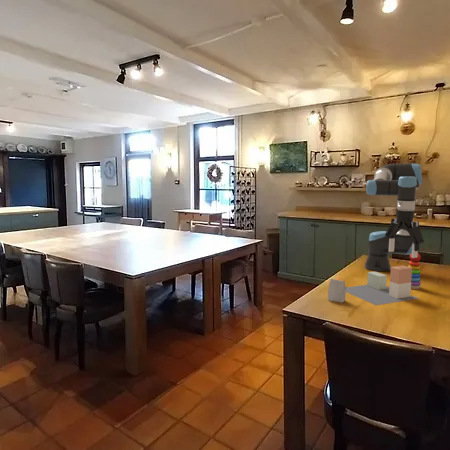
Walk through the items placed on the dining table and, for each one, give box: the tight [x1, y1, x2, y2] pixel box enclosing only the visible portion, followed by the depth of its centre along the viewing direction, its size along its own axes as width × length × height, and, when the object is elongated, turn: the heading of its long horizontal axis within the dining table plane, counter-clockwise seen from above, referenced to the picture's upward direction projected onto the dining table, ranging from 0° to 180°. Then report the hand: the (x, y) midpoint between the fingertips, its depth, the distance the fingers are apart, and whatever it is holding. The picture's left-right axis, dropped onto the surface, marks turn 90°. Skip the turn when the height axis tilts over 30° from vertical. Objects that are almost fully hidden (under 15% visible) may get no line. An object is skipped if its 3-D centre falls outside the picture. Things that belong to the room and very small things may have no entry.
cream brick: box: [389, 280, 412, 299], centre depth 175 cm, size 8×5×7 cm, turn 111°
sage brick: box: [366, 271, 388, 290], centre depth 188 cm, size 8×5×7 cm, turn 21°
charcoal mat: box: [345, 284, 420, 306], centre depth 179 cm, size 26×26×1 cm
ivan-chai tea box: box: [327, 278, 347, 303], centre depth 169 cm, size 4×7×10 cm, turn 49°
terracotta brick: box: [389, 265, 412, 284], centre depth 174 cm, size 8×5×7 cm, turn 111°
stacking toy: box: [407, 252, 422, 290], centre depth 189 cm, size 8×8×19 cm
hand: (402, 254), depth 173 cm, fingers open, 13 cm apart
